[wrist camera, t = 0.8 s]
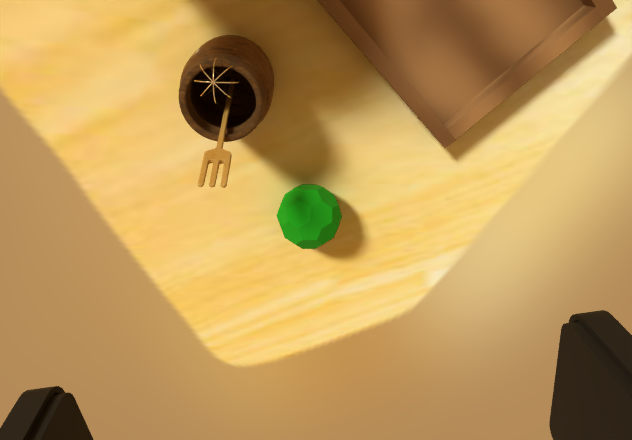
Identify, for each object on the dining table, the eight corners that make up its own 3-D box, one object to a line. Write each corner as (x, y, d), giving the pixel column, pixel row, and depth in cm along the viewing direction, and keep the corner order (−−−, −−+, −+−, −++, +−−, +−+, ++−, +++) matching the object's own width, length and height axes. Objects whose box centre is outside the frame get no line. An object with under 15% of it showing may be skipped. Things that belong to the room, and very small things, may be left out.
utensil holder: (275, 34, 35) (267, 70, 24) (273, 122, 38) (267, 189, 27) (188, 30, 34) (142, 64, 24) (194, 119, 37) (156, 185, 27)
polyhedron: (265, 208, 41) (262, 237, 37) (302, 163, 39) (303, 188, 35) (314, 239, 43) (316, 270, 38) (350, 197, 41) (357, 225, 37)
